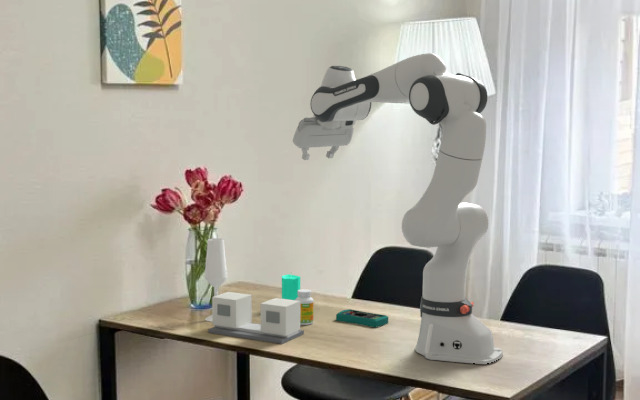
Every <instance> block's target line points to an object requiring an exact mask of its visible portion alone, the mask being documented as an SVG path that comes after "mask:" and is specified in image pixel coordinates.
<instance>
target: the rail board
mask: <svg viewBox="0 0 640 400" xmlns="http://www.w3.org/2000/svg"><path fill="white" fill-rule="evenodd" d="M252 296H253V295H252V294H249V293H239V292H232V291H226V292H223V293H221V294H218V295H217V296H214V295H213V296H212V299H211V301H212V311H211V313H212V314H211V315H212V322H211V323H212V325H213V327H210V328H208V329H207V330H208V331H207V332H208V333H209V334H214V335H215V334H217V335H222V336H227V337H236V338H241V339H247V340H254V341H260V342H266V343H273V344H280V345H283V344H285V343H287V342H290V341H291V340H294V339H296V338H298V337H300V336H302V335H304V334H305V330H304V329H303V330H301V325H300V301H296V300H288V299H282V298H279V297H275V298H274V297H273V298H272V299H269V300H266V301H263V302H261V303H260V323H254V322H252V320H253V319H252V318H253V317H252V310H253V309H252V307H253V306H252V305H253V304H252V302H253V301H252V298H253V297H252Z"/></svg>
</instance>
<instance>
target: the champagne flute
mask: <svg viewBox="0 0 640 400" xmlns="http://www.w3.org/2000/svg"><path fill="white" fill-rule="evenodd" d="M225 249H226V247H225V239H224V238H218V237H217V238H216V237H215V238H207V247H206V257H205V266H204V267H205V270H204V279H205V281H207V283H208V284H209V285H210V286H211V287H213V297H214V296H217V295H219V287H221V285H223V283H224V282H225V281H226V280H227V279H228V268H227V267H228V266H227V258H226V250H225ZM204 321H206V322H211V323H212V314H210V315H209V316H207V317H206V318H204Z"/></svg>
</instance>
